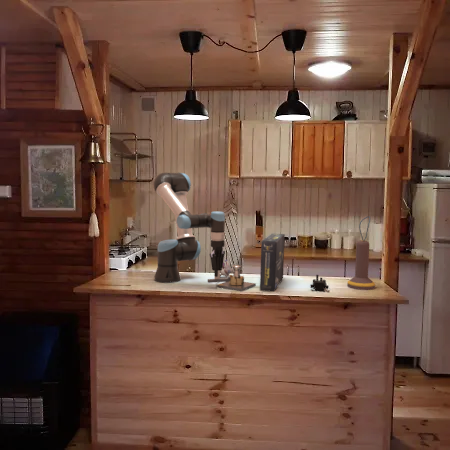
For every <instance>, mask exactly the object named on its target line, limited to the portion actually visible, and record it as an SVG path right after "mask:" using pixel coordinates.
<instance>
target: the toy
mask: <svg viewBox="0 0 450 450" xmlns="http://www.w3.org/2000/svg"><path fill="white" fill-rule="evenodd" d="M315 277H316V278H314V279H312V284H310V286H309V287H310V288H309V289H314V292H323V293H324V291H325V290H329V285H327V281H326V279H323V277H319V274H316V275H315Z"/></svg>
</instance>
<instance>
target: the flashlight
mask: <svg viewBox="0 0 450 450" xmlns="http://www.w3.org/2000/svg"><path fill="white" fill-rule="evenodd" d="M368 218H369V220H368V224H367V228H366V233H365V237H364V238H363V235H362V231H361V223H362V222H363V221H364V220H365V219H368ZM370 222H371V217H370V216H366V217H364V218H363V219H361V221H360V222H359V227H358V228H359V232H360V236H361V239H362V240H361V239H360V240H358V241H356V244H355V246H356V247H355V269H354V270H355V271H354V277H352V278H350V279H348V281H347V288H349V289H354V290H358V291H359V290H361V291H371V290H375V288H376V283H375V282H374V281H373V280H372V279H370V277H369V264H370V261H369V260H370V243H369V242H370V241H367V240H366V239H367V236H368V231H369V227H370Z"/></svg>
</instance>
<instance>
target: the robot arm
mask: <svg viewBox="0 0 450 450" xmlns="http://www.w3.org/2000/svg"><path fill="white" fill-rule="evenodd" d="M153 179H154V180H153V183H152V185H153V191H154V192H155V193H156V194H157V196H159V197H161V198H162V200H163V201H164V202H165V204H166V205H167V206H168V207H169V209H170V210H171V211H172V213H173V214H174V217H175V218H174V219H175V224H176V231H177V237H176V239H165V240H164V239H163V240H161V241H159V242H158V244H157V249H156V250H157V267H156V271H155V273H154V274H155V275H154V281H155V282H159V283H177V282H180V281H181V275H180V271H179V267H178V262H183V261H193V260H197V259H198V258H199V256H200V254H201V251H202V249H201V248H202V245H201V243H200V241H199V240H196V236H195V235H193V231H192V229H203V228H209V229H210V247H211V248H212V250H211V253H209V257H210V263H211V270H212V271H214V278H213V279H221V276H220V274H221V270H222V269H223V262H225V254H226V251H225V250H224V247H225V236H226V235H225V231H226V230H225V229H226V227H225V223H226V215H225V212H224V211H217V210H216V211H211V213H210V214H209V213H199V214H192V213H191V212H190V210H189V207H188V199H187V195H188V194H189V191H190V190H191V186H192V182H191V178H190V176H189V175H188V174H187V173H185V172H160V173H159V174H157V175H156V176H155V178H153ZM217 283H218V284H220V282H217Z"/></svg>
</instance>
